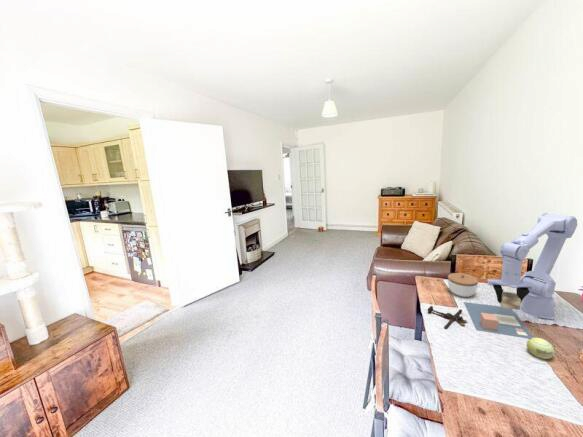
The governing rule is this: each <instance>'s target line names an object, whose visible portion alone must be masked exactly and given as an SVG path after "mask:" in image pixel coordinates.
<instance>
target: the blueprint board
mask: <svg viewBox="0 0 583 437" xmlns="http://www.w3.org/2000/svg"><path fill="white" fill-rule="evenodd" d="M463 304H464V306H465V308H466V311H467V313H468V315H469V317H470V319H471V321H472V324H473V326H474V329H475V330H476V331H479V332H486V333H489V334H490V333H492V334H497V335H503V336H510V337H514V338H515V337H517V338H522V339H527V340H530V339H531V338H535V337H534V336H533V334H532V333H531V332H530V330H529V329H528V328H527V327H526V325H525V324H524V323H523V321H522V320H521V318H520V317H519V316H518V315H517V313H516V312H515V311H514V309H510V308H502V306H501V305H493V304H492V305H491V304H483V303H477V302H476V303H475V302H468V301H463ZM481 313H487V314H494V315H495V316H496V318H497V320H498V330H497V331H494V330H488V329H483V327H482V325H481V323H480V318H481Z"/></svg>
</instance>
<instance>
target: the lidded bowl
mask: <svg viewBox="0 0 583 437" xmlns="http://www.w3.org/2000/svg"><path fill="white" fill-rule="evenodd" d="M447 283H448V284H447V285H448V288H449V290H450V291H451V292H452V293H453V294H454V295H456V296H458V297H462V298H468V297H472V296H474V295H475V293H476V292H477V290H478V286H479V285H478V284H479V280H478V278H477V277H476V276H473V275H471V274H469V273H463V272H451V273H450V274H448V275H447Z"/></svg>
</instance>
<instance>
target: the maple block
mask: <svg viewBox="0 0 583 437" xmlns="http://www.w3.org/2000/svg"><path fill="white" fill-rule="evenodd" d="M520 303H521V304H522V302H521V299H520V298H519V297H518V296H517V292H510V291H503V293H502V300H501V303H499V306H501V307H502V308H510V309H513V310H520V306H521V304H520ZM520 311H521V310H520Z"/></svg>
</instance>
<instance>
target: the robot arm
mask: <svg viewBox="0 0 583 437" xmlns="http://www.w3.org/2000/svg"><path fill="white" fill-rule="evenodd" d="M577 228H578V218H576V217H575V215H563V214H554V213H553V214H552V213H547V212H545V213H544V212H543V213H542V214H541V215H540V216H539V217H538V218H537V223H536V224H535V225H534V227H532V228H531V229H530V230H529V231H527V232H525V231H524V232H521V233H520V234H519V235H518V236H517V237H515V238H514V239H513V240H511V241H510V242H508V241H507V242H505V243H503V244H502V245H501V247H500V249H499V253H500V255H501V259H502V266H501V267H502V270H501V278H496V279H489V278H487V285H488V286H492V287H493V290H494V292H495V295H496V300H497V302H498V303H499V304H500V303H501V300H502V293H503V292H504V289H503V287H508V288H511V289H516V294H517V296H518V297H519V298H520V299H521V303H520V311H521V312H522V314H524V316H529V317H536V318H537V319H545V320H546V319H547V320H552V321H553V320H554V321H555V317H554V314H555V308H556V302H555V299H554V297H553V295H554V293H555V291H556V290H555V288H556V284H557V283H556V281H555V280H554V278H552V276H550V274H551V273H552V271H553V269H554V267H555V265H556V262H557V260H558V258H559V256H560V253H561V251H562V249H563V247H564V245H565V243H566V240H567V239H570V238H572V237H573V235H574V234H575V231H576V229H577ZM544 235H546V236H547V237H548V238H547V239H546V241H545V243H544V246H543V248H542V250H541V253H540V255H539V257H538V259H537V261H536V263H535V266H534V268H533V270H528V271H526V272H524V273H523V274H522V270H523V269H522V267H523V262H524V261H523V260H524V259H526V257H527V256H528V254H529V252H530V250H531V249H532V248H533V247H535V246H536V245H537V244H538V243H539V238H541V237H543V236H544Z"/></svg>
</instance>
